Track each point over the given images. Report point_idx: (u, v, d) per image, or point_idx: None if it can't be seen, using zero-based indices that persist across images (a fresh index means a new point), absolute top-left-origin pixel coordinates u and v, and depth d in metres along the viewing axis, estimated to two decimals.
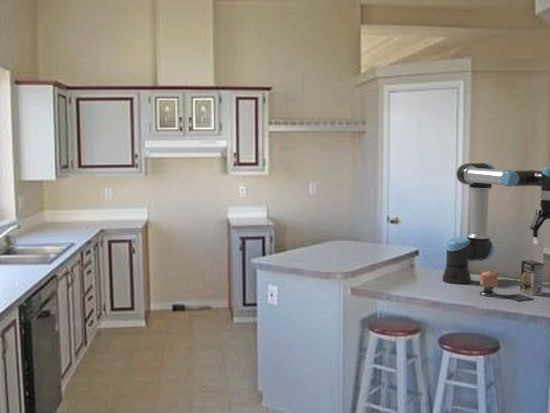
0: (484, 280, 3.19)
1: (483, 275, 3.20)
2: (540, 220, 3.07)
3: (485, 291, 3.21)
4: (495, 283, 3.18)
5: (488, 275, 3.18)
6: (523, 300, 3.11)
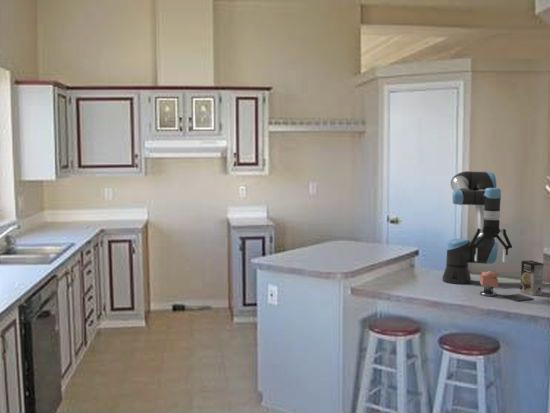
0: (484, 280, 3.19)
1: (483, 275, 3.20)
2: (480, 238, 3.20)
3: (485, 291, 3.21)
4: (495, 283, 3.18)
5: (488, 275, 3.18)
6: (523, 300, 3.11)
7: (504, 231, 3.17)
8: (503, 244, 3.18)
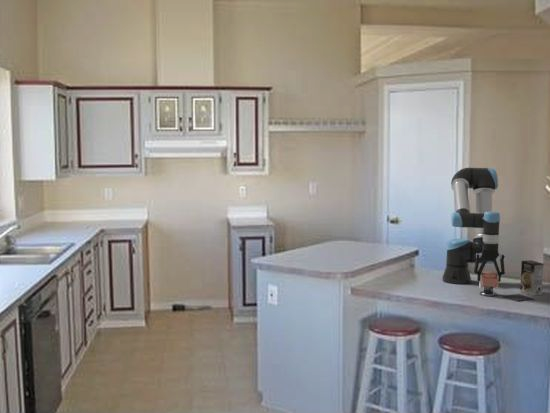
0: (484, 279, 3.19)
1: (483, 275, 3.20)
2: (482, 264, 3.21)
3: (485, 291, 3.21)
4: (495, 283, 3.18)
5: (488, 275, 3.18)
6: (523, 300, 3.11)
7: (502, 257, 3.19)
8: (497, 270, 3.20)
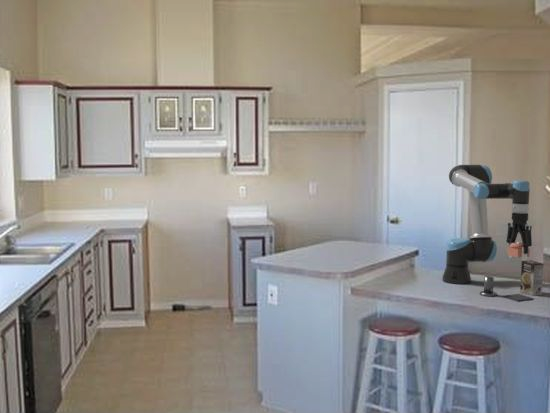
0: (508, 249, 3.15)
1: None
2: None
3: (485, 291, 3.21)
4: (516, 253, 3.10)
5: (511, 244, 3.13)
6: (523, 300, 3.11)
7: (526, 227, 3.07)
8: (522, 241, 3.09)
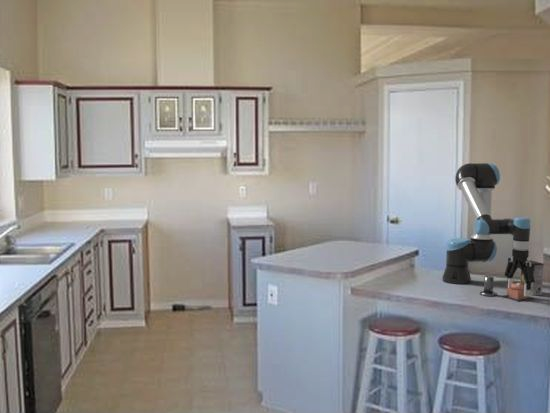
0: (508, 289, 3.17)
1: None
2: None
3: (485, 291, 3.21)
4: (516, 295, 3.12)
5: (511, 286, 3.15)
6: (523, 300, 3.11)
7: (527, 264, 3.08)
8: (524, 277, 3.10)
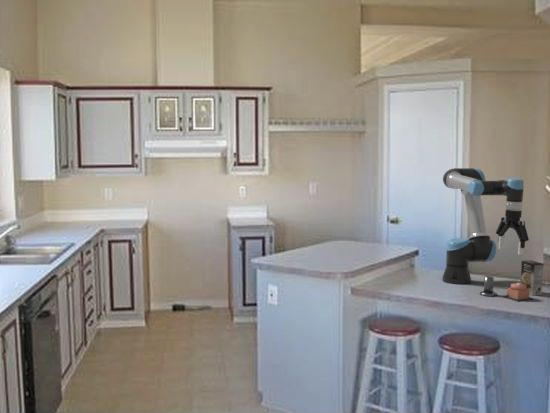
0: (508, 289, 3.17)
1: None
2: None
3: (485, 291, 3.21)
4: (516, 295, 3.12)
5: (511, 286, 3.15)
6: (523, 300, 3.11)
7: (520, 223, 3.14)
8: (518, 236, 3.15)
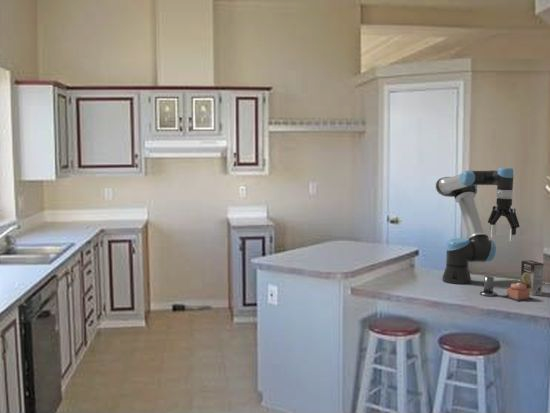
0: (508, 289, 3.17)
1: None
2: None
3: (485, 291, 3.21)
4: (516, 295, 3.12)
5: (511, 286, 3.15)
6: (523, 300, 3.11)
7: (510, 210, 3.23)
8: (509, 223, 3.24)
